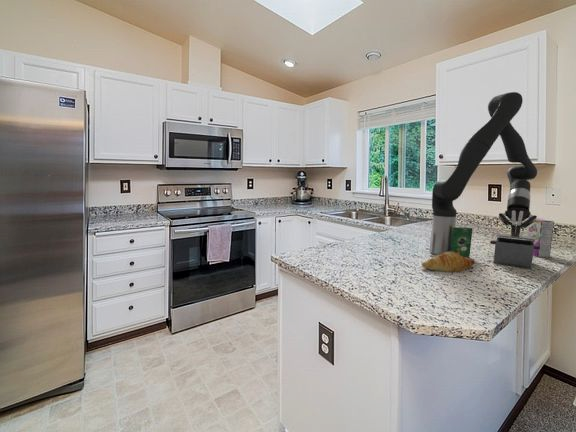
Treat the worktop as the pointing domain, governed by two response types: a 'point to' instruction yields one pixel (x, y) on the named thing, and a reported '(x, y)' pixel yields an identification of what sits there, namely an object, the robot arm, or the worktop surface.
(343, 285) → the worktop surface
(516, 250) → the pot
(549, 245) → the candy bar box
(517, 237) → the lid
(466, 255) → the coffee box
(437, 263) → the croissant
